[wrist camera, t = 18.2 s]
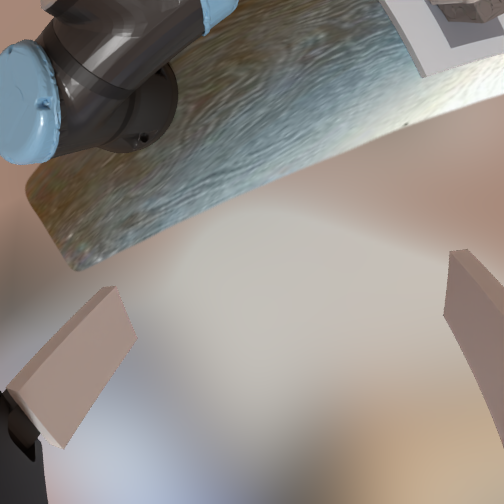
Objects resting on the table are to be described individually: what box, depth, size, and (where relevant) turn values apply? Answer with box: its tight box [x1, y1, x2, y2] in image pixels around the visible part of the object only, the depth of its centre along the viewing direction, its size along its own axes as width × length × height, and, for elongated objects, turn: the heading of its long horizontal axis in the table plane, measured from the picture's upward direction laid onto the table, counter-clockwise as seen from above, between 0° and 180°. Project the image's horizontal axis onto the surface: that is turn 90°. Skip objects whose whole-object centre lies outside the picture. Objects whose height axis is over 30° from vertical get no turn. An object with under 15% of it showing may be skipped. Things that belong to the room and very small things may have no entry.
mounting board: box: [378, 0, 504, 78], centre depth 26 cm, size 22×16×2 cm
